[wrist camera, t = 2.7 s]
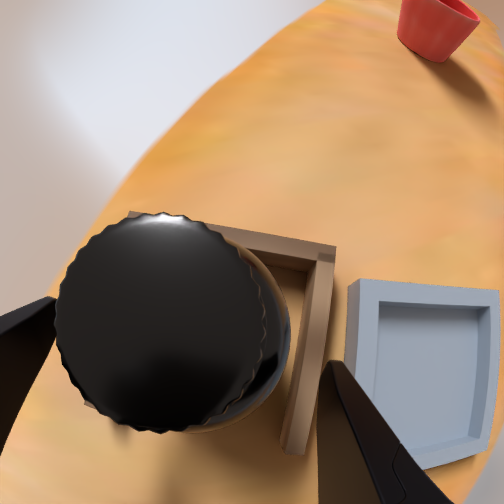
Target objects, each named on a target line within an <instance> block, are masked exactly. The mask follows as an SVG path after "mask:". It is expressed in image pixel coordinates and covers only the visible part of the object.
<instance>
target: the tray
mask: <svg viewBox="0 0 504 504" xmlns="http://www.w3.org/2000/svg"><path fill="white" fill-rule="evenodd" d="M499 361H500V301H499V290H488V289H475V288H463V287H451V286H439V285H427V284H416V283H404V282H393V281H383V280H372V279H361V278H360V279H358V280H357V281H355V282H354V283H352V284H351V285H349V286H348V303H347V324H346V340H345V353H344V364H345V365H346V367H347V368H348V370H349V371H350V372H351V374H352V375H353V376H354V378H355V379H356V381H357V382H358V383H359V385H360V386H361V387H362V389H363V390H364V392H365V393H366V394H367V396H368V397H369V398H370V400H371V401H372V403H373V404H374V405H375V407H376V408H377V410H378V411H379V412H380V414H381V415H382V416H383V418H384V419H385V421H386V422H387V423H388V425H389V426H390V428H391V429H392V430H393V432H394V433H395V434H396V436H397V437H398V439H399V440H400V443H402V444H403V445H404V447H405V448H406V450H407V451H408V452H409V454H410V455H411V456H412V458H413V459H414V460H415V462H416V463H417V464H418V465H419V466H420V468H421V469H422V470H424V469H428V468H432V467H436V466H440V465H443V464H447V463H450V462H453V461H457V460H460V459H463V458H466V457H469V456H472V455H475V454H477V453H480V452H483V451H486V450H487V447H488V443H489V438H490V433H491V428H492V422H493V417H494V410H495V403H496V395H497V386H498V376H499Z"/></svg>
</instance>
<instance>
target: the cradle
mask: <svg viewBox="0 0 504 504" xmlns="http://www.w3.org/2000/svg"><path fill="white" fill-rule="evenodd" d="M141 214H143V213H140V212H133V211H129V213H128V216H127V218H128V217H131V218H135V217H137V216H139V215H141ZM152 215H153V214H152ZM205 224H206V225H207V227H208V228H209V229H210V230H214V231H217V232H220V233H222V235H223V236H224V237H226V238H228V239H231V240H233V241H235V242H236V243H238V244H240V245H242V246H243V247H245V248H246V249H248V250H249V251H250V252H251V253H253V254H254V255H255V256H256V257H257V258H258V259H259V260H260V261H261V262H262V263H263V264H264V265H269V266H275V267H280V268H286V269H292V270H297V271H303V272H308V273H307V281H306V289H305V296H304V303H303V310H302V317H301V324H300V330H299V336H298V343H297V349H296V355H295V361H294V367H293V372H292V378H291V384H290V389H289V394H288V400H287V405H286V410H285V415H284V420H283V425H282V430H281V434H280V439H279V442H280V444H281V446H282V449H283V451H284V453H285V454H290V455H304V453H305V448H306V444H307V440H308V435H309V430H310V426H311V421H312V416H313V411H314V406H315V401H316V396H317V390H318V385H319V379H320V373H321V367H322V361H323V355H324V348H325V342H326V335H327V327H328V320H329V312H330V304H331V296H332V287H333V277H334V267H335V256H336V246H331V245H326V244H320V243H315V242H310V241H304V240H299V239H293V238H288V237H282V236H277V235H271V234H266V233H260V232H254V231H249V230H243V229H237V228H231V227H225V226H220V225H214V224H208V223H205ZM84 405H86V406H89V407H91V408H94V409H96V408H95V407H94V405H93V404H91V403H89V402H87V401H85V402H84Z"/></svg>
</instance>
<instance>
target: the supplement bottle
mask: <svg viewBox="0 0 504 504" xmlns="http://www.w3.org/2000/svg"><path fill="white" fill-rule="evenodd" d="M59 291H60V292H59V297H58V299H57V301H56V304H55V309H56V317H55V321H54V327H55V330H56V333H57V337H56V346H57V348H58V350H59V352H60V353H61V361H62V365H63V367H64V368H65V369H66V370H67V372H68V374H69V377H70V380H71V383H72V384H73V385H74V386H75V387H77V388H78V389H79V391H80V393H81V395H82V397H83V398H84V400H85V401H87V402H89V403H91V404H93V405H94V407H95V408H96V410H97V411H98V412H99V413H100V414H102V415H104V416H108V417H110V418H111V419H112V420H113V421H115V422H116V423H117V424H118V425H128V426H130V427H132V428H133V429H135V430H137V431H139V432H140V431H146V430H150V431H152V432H155V433H158V434H163V433H166V432H168V431H174V432H182V433H202V432H209V431H214V430H218V429H221V428H225V427H227V426H230V425H232V424H234V423H236V422H238V421H240V420H242V419H244V418H245V417H247V416H248V415H250V414H251V413H252V412H254V411H255V410H256V409H257V408H258V407H259V406H261V405H262V403H263V402H264V401H265V400H266V399H267V398H268V397H269V395H270V394H271V393H272V391H273V390H274V389H275V387H276V385H277V384H278V382H279V380H280V378H281V376H282V374H283V371H284V369H285V366H286V363H287V359H288V355H289V349H290V341H291V327H290V318H289V313H288V308H287V305H286V301H285V298H284V296H283V293H282V291H281V289H280V287H279V285H278V283H277V281H276V280H275V278H274V277H273V275H272V274H271V272H270V271H269V270H268V268H267V267H266V266H265V265H264V264H263V263H262V262H261V261H260V260H259V259H258V258H257V257H256V256H255V255H254V254H253V253H251V252H250V251H249V250H248V249H246V248H245V247H243V246H242V245H240V244H238V243H236V242H235V241H233V240H231V239H228V238H226V237H224V236H223V235H222V233H220V232H217V231H214V230H210V229H209V228H208V227H207V225H206V224H205V223H204V222H200V221H192V220H190V219H189V218H188V217H186V216H185V215H176V216H172V215H170V214H168V213H165V212H162V213H158V214H155V215H152V214H148V213H143V214H141V215H139V216H137V217H135V218H131V217H128V218H124V219H123V220H121V221H120V222H119V223H117V224H114V225H108V226H107V227H106V228H105V229H104V230H103V231H102V232H101V233H100V234H97V235H94V236H92V237H91V239H90V240H89V242H88V243H87V245H86V246H84V247H83V248H81V249H80V250H79V251H78V253H77V255H76V258H75V260H74V261H73V262H72V263H71V264H70V265H69V266H68V268H67V271H66V276H65V278H64V280H63V281H62V282H61V284H60V289H59Z"/></svg>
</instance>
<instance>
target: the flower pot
mask: <svg viewBox="0 0 504 504" xmlns="http://www.w3.org/2000/svg"><path fill="white" fill-rule="evenodd" d="M479 23H480V18H479V17H478V16H477V14H476V13H475V12H474V11H473V10H471V9H470V8H469V7H468V6H467V5H465V4H464V3H463V2H461V1H460V0H402V5H401V11H400V17H399V23H398V30H397V35H398V38H399V39H400V40H401V42H402V43H403V44H404V45H406V46H407V47H408V48H409V49H411V50H412V51H414V52H416V53H417V54H418V55H420V56H422V57H424V58H426V59H428V60H430V61H433V62H438V63H442V62H444V61H445V60H446V59H447V58H448V57H449V56H450V55H451V54H452V53H453V52H454V51H455V50H456V49H457V48H458V47H459V46H460V45H461V43H462V42H463V41H464V40H465V39H466V38H467V37H468V36H469V35H470V34H471V33H472V31H473V30H474V29H475V28H476V27H477V25H478V24H479Z"/></svg>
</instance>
